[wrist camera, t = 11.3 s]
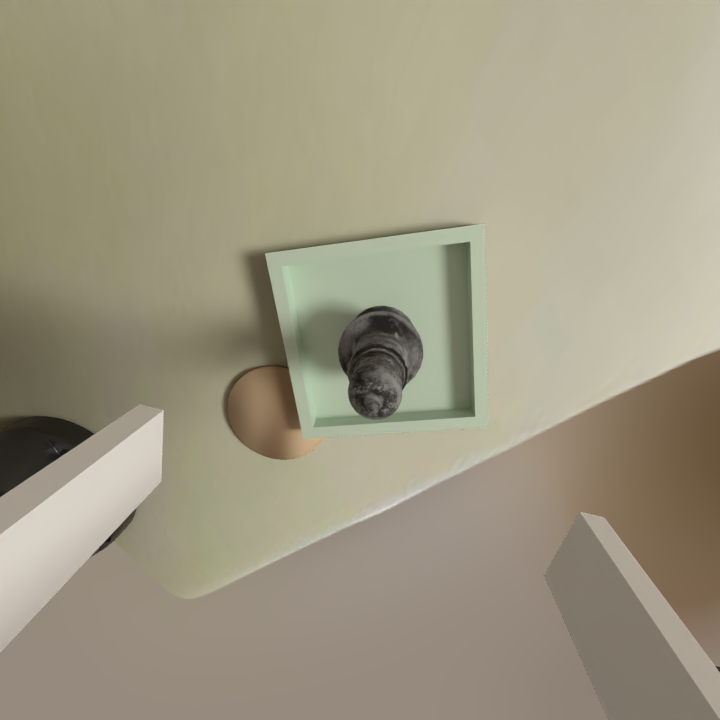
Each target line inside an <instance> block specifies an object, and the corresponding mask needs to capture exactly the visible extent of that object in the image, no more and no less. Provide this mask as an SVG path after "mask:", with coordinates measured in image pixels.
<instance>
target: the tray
mask: <svg viewBox="0 0 720 720" xmlns="http://www.w3.org/2000/svg"><path fill="white" fill-rule="evenodd" d="M265 256H266V261H267V266H268V270H269V275H270V280H271V285H272V290H273V295H274V299H275V304H276V309H277V314H278V319H279V324H280V329H281V333H282V338H283V343H284V348H285V353H286V358H287V362H288V367H289V372H290V377H291V382H292V387H293V392H294V396H295V401H296V406H297V411H298V416H299V421H300V425H301V430H302V435H303V439H309V438H325V437H341V436H357V435H373V434H389V433H405V432H420V431H436V430H452V429H468V428H484V427H489V412H488V342H487V272H486V223H485V224H477V225H470V226H462V227H455V228H448V229H440V230H433V231H425V232H418V233H411V234H403V235H396V236H389V237H381V238H374V239H367V240H359V241H352V242H345V243H337V244H330V245H323V246H315V247H308V248H301V249H293V250H286V251H279V252H272V253H265ZM375 306H389V307H394V308H396V309H398V310H400V311H402V312H403V313H404V314H405V315H406V316H407V317H408V318H409V319H410V321H411V322H412V324H413V326H414V327H415V329H416V330H417V332H418V333H419V335H420V338H421V341H422V344H423V360H422V364H421V367H420V369H419V371H418V373H417V374H416V376H415V377H414V378H413V379H412V380H411V381H410V382H409V383H408V384H406V386H405V387H404V389H403V391H402V400H401V403H400V405H399V407H398V409H397V410H396V411H395V412H394V413H393V414H392V415H391V416H389V417H387V418H385V419H381V420H372V419H367V418H365V417H363V416H361V415H359V414H358V413H357V412H356V411H355V410H354V409H353V407H352V406H351V404H350V401H349V398H348V387H349V380H348V377H347V375H346V374H345V373H344V371H343V369H342V367H341V364H340V362H339V355H338V347H339V341H340V338H341V336H342V334H343V332H344V330H345V329H346V327H347V326H348V325H349V324H350V323H351V322H352V321H353V320H355V319H356V318H357V316H358V315H359V314H360V313H362V312H363V311H365V310H366V309H369V308H372V307H375Z"/></svg>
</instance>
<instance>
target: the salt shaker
mask: <svg viewBox="0 0 720 720" xmlns="http://www.w3.org/2000/svg"><path fill="white" fill-rule="evenodd" d="M338 355H339V362H340V364H341V367H342V369H343V371H344V373H345V374H346V375H347V377H348V380H349V387H348V398H349V401H350V404H351V406H352V407H353V409H354V410H355V411H356V412H357V413H358V414H359V415H361V416H363V417H365V418H367V419H372V420H381V419H385V418H387V417H389V416H391V415H392V414H393V413H394V412H395V411H396V410H397V409H398V407H399V405H400V403H401V400H402V391H403V389H404V387H405V386H406V384H408V383H409V382H410V381H411V380H412V379H413V378H414V377H415V376H416V374H417V373H418V371H419V369H420V367H421V364H422V360H423V344H422V341H421V338H420V335H419V333H418V332H417V330H416V329H415V327H414V326H413V324H412V322H411V321H410V319H409V318H408V317H407V316H406V315H405V314H404V313H403V312H402V311H400V310H398V309H396V308H394V307H389V306H375V307H372V308H369V309H366V310H365V311H363V312H362V313H360V314H359V315H358V316H357V318H356V319H355V320H353V321H352V322H351V323H350V324H349V325H348V326H347V327H346V329H345V330H344V332H343V334H342V336H341V338H340V341H339V347H338Z"/></svg>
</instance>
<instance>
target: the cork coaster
mask: <svg viewBox="0 0 720 720" xmlns="http://www.w3.org/2000/svg"><path fill="white" fill-rule="evenodd" d="M227 411H228V418H229V421H230V424H231V426H232V428H233V430H234V432H235V433H236V435H237V436H238V438H239V439H240V440H241V441H242V442H243V443H244V444H245V445H246V446H247V447H249V448H250V449H252V450H253V451H255V452H256V453H259V454H261V455H263V456H266V457H269V458H273V459H281V460H287V459H294V458H299V457H301V456H304V455H306V454H308V453H310V452H311V451H312V450H314V449H315V448H316V447H317V446H318V445H319V444H320V442H321V441H322V439H323V438H309V439H303V435H302V430H301V425H300V421H299V416H298V411H297V406H296V401H295V396H294V392H293V387H292V382H291V377H290V372H289V368H287V367H282V366H264V367H260V368H256V369H254V370H252V371H250V372H248V373H247V374H245V375H244V376H243V377H242V378H241V379H239V380H238V381H237V383H236V384H235V385H234V387H233V388H232V390H231V392H230V395H229V398H228V404H227Z"/></svg>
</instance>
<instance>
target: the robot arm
mask: <svg viewBox="0 0 720 720" xmlns="http://www.w3.org/2000/svg"><path fill="white" fill-rule="evenodd" d="M163 413H164V410H161V409H157V408H153V407H149V406H145V405H140V404H139V405H138V406H136V407H135V408H133V409H132V410H130V411H129V412H127V413H126V414H124V415H123V416H121V417H120V418H118V419H117V420H115V421H114V422H112V423H111V424H109V425H108V426H106V427H105V428H103V429H102V430H100V431H99V432H97V433H96V434H93V433H91V432H89V431H88V430H86V429H84V428H82V427H80V426H78V425H75V424H73V423H70V422H67V421H64V420H60V419H55V418H48V417H34V418H27V419H24V420H21V421H18V422H16V423H14V424H12V425H10V426H8V427H6V428H4V429H2V430H0V652H1V651H2V650H3V649H4V648H5V647H6V646H7V645H8V644H9V642H10V641H11V640H12V639H13V638H14V637H15V636H16V635H17V634H18V633H19V632H20V631H21V630H22V629H23V628H24V626H25V625H26V624H27V623H28V622H29V621H30V620H31V619H32V618H33V617H34V616H35V615H36V614H37V613H38V612H39V610H40V609H42V607H43V606H44V605H45V604H46V603H47V602H48V601H49V600H50V599H51V598H52V597H53V596H54V595H55V594H56V593H57V592H58V590H59V589H60V588H61V587H62V586H63V585H64V584H65V583H66V582H67V581H68V580H69V579H70V578H71V577H72V576H73V575H74V573H75V572H76V571H77V570H78V569H79V568H80V567H81V566H82V565H83V564H84V563H85V562H86V561H87V560H88V558H90V557H91V556H93V555H95V554H96V553H98V552H99V551H101V550H103V549H104V548H106V547H107V546H108V545H109V544H111V543H112V542H113V541H114V540H115V539H116V538H117V537H118V536H119V535H120V534H121V533H122V532H123V530H124V529H125V528H126V527H127V526H128V525H129V524H130V522H131V521H132V519H133V517H134V515H135V512H136V508H137V507H138V506H139V505H140V503H141V502H142V501H143V500H144V499H145V498H146V497H147V496H148V495H149V494H150V493H151V492H152V491H153V490H154V489H155V488H156V486H157V485H158V484H159V483H160V482H161V476H162V445H163ZM544 576H545V579H546V581H547V583H548V586H549V588H550V590H551V592H552V595H553V597H554V599H555V601H556V604H557V606H558V608H559V610H560V613H561V615H562V617H563V619H564V622H565V624H566V626H567V628H568V630H569V632H570V635H571V637H572V640H573V642H574V644H575V646H576V649H577V651H578V653H579V656H580V658H581V660H582V662H583V665H584V667H585V669H586V671H587V674H588V676H589V678H590V680H591V683H592V685H593V687H594V689H595V692H596V694H597V696H598V698H599V701H600V703H601V705H602V707H603V710H604V712H605V714H606V717H607V719H608V720H720V667H717V666H715V665H714V664H713V663H712V661H711V660H710V659H709V657H708V656H707V654H706V653H705V652H704V650H703V649H702V648H701V646H700V645H699V644H698V643H697V641H696V640H695V638H694V637H693V636H692V634H691V633H690V632H689V630H688V629H687V628H686V626H685V625H684V624H683V622H682V621H681V620H680V618H679V617H678V616H677V614H676V613H675V612H674V611H673V609H672V608H671V606H670V605H669V604H668V602H667V601H666V600H665V598H664V597H663V596H662V594H661V593H660V592H659V590H658V589H657V588H656V586H655V585H654V584H653V582H652V581H651V579H650V578H649V577H648V576H647V574H646V573H645V571H644V570H643V569H642V567H641V566H640V565H639V563H638V562H637V561H636V559H635V558H634V557H633V555H632V554H631V553H630V551H629V550H628V549H627V547H626V546H625V545H624V543H623V542H622V541H621V539H620V538H619V537H618V535H617V534H616V533H615V532H614V530H613V529H612V527H611V526H610V525H609V523H608V522H607V521H606V519H605V518H604V517H600V516H596V515H592V514H588V513H584V512H579V514H578V515H577V517H576V519H575V521H574V523H573V524H572V526H571V528H570V530H569V531H568V533H567V535H566V537H565V539H564V540H563V542H562V544H561V546H560V548H559V549H558V551H557V553H556V555H555V557H554V558H553V560H552V562H551V564H550V565H549V567H548V569H547V571H546V573H545V575H544Z"/></svg>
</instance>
